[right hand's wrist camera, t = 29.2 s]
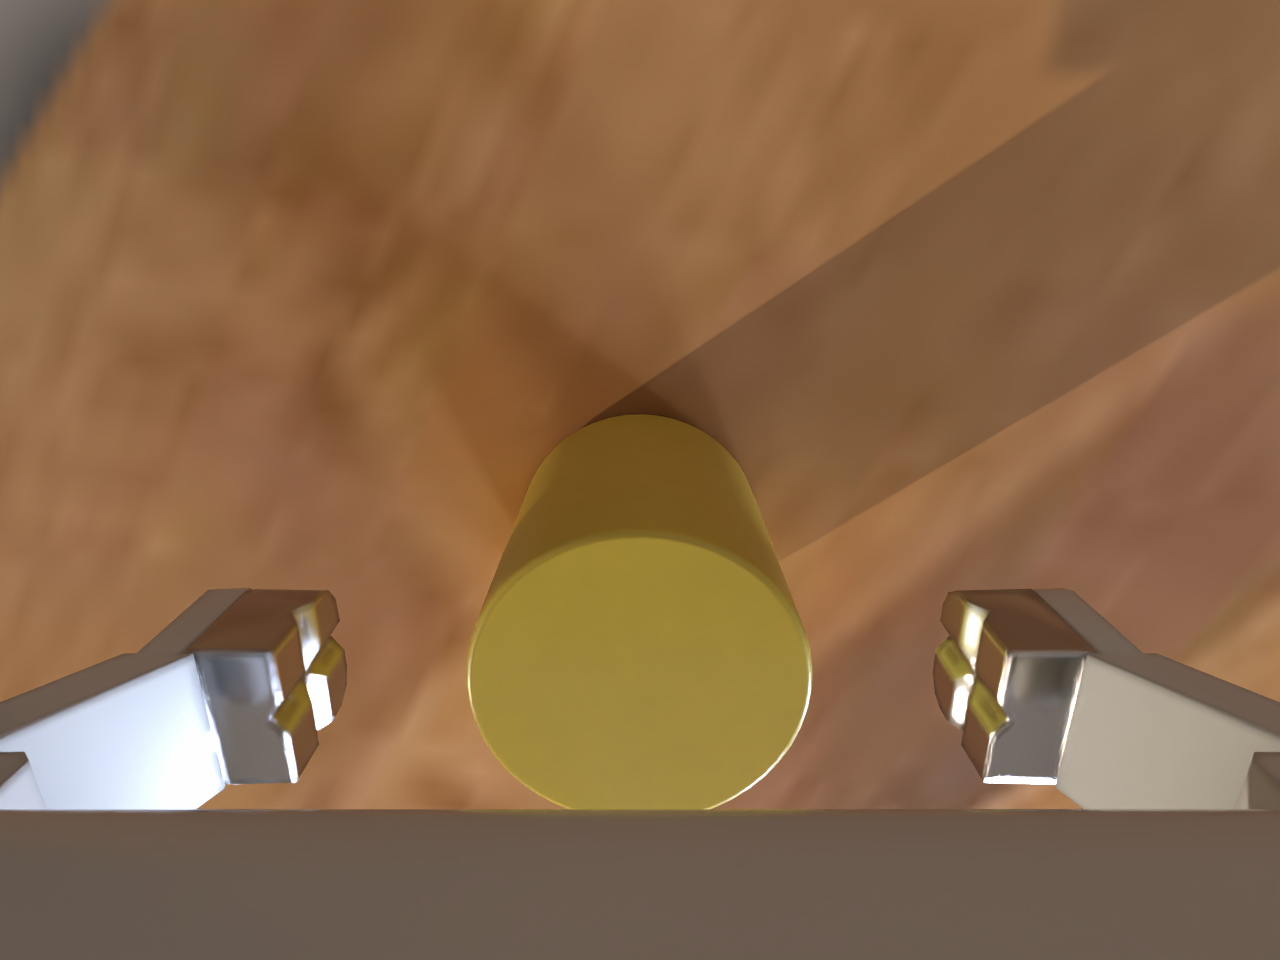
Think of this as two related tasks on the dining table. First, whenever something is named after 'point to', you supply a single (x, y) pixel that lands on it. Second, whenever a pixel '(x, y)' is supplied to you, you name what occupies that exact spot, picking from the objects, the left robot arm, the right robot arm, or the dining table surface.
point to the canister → (639, 627)
